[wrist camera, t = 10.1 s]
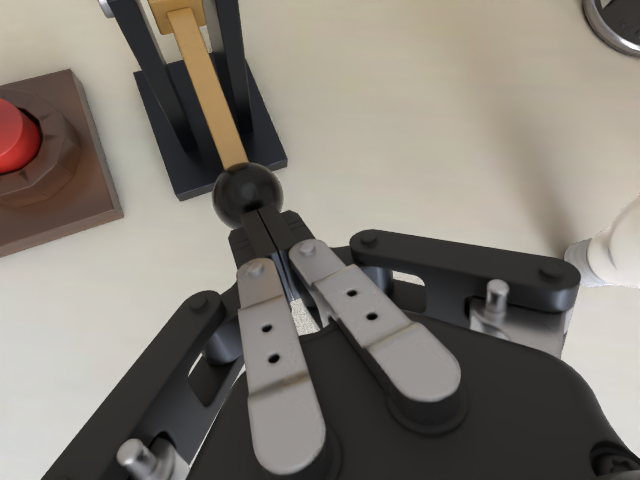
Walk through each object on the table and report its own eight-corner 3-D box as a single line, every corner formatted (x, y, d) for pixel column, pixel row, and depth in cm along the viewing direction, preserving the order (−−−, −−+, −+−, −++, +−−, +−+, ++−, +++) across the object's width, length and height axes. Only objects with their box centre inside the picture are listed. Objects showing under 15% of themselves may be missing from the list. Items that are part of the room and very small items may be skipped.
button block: (124, 217, 25) (99, 199, 22) (-12, 262, 24) (-62, 249, 20) (81, 83, 27) (53, 46, 24) (-47, 115, 26) (-98, 81, 22)
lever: (289, 221, 19) (297, 216, 16) (228, 242, 18) (225, 241, 15) (197, -27, 18) (187, -84, 15) (131, -14, 18) (107, -70, 15)
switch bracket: (287, 166, 27) (296, 21, 15) (180, 202, 26) (84, 74, 13) (241, 56, 29) (213, -160, 16) (138, 83, 28) (19, -132, 15)
